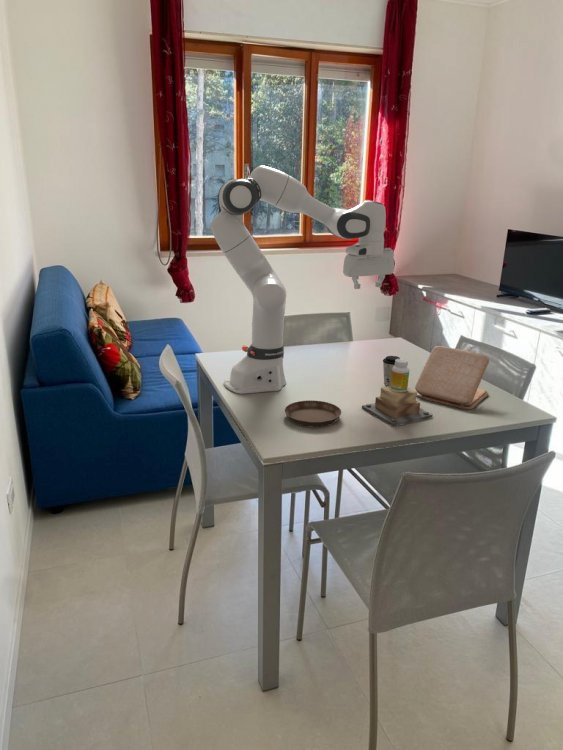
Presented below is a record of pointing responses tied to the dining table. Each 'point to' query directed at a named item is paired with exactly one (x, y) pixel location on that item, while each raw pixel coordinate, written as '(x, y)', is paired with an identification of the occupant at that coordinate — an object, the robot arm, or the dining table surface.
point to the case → (453, 377)
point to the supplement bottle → (400, 376)
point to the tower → (397, 407)
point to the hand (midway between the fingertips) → (367, 287)
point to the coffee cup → (388, 368)
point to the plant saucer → (312, 413)
